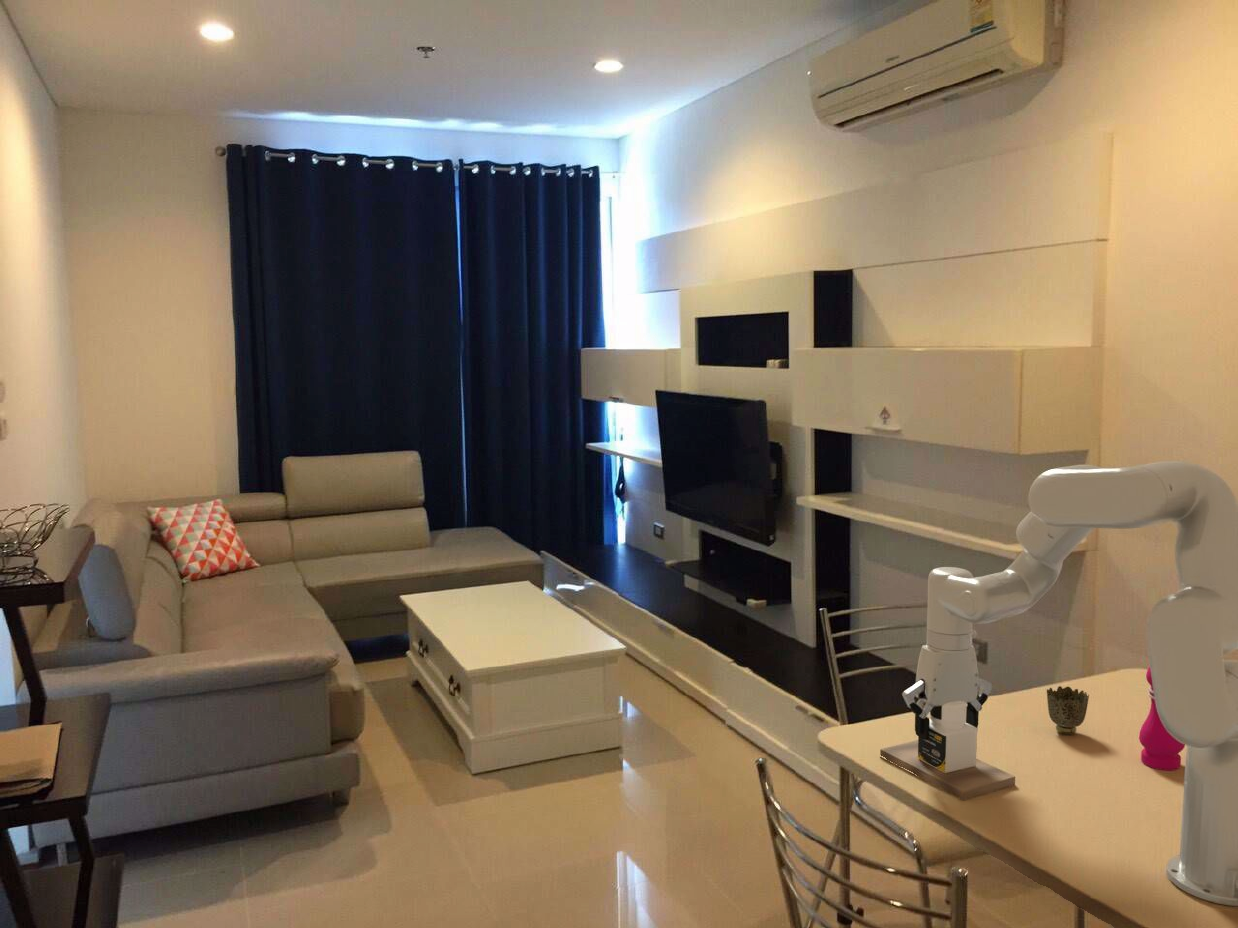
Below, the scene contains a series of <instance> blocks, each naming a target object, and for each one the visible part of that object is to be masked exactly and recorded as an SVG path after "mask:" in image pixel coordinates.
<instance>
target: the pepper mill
mask: <svg viewBox="0 0 1238 928" xmlns="http://www.w3.org/2000/svg"><path fill="white" fill-rule="evenodd" d="M1145 677H1146V681H1147V683H1148V684H1149V685H1150V686H1149V688H1148V693H1147V694H1148V697H1149V698H1150V709H1149V713H1148V714H1147V717H1146V718H1145V720H1144V721H1143V724H1142V725H1141V727H1140V730H1139V736H1138V740H1139V742H1140V744H1141V745H1142V747H1143V749H1142V750H1141V753H1140V755H1141V756H1140V760H1141V761H1140V762H1142V764H1144V765H1146V766H1147V767H1150V768H1153V769H1157V770H1162V771H1174V770H1175V771H1176V770H1178V769H1179V768H1181V764H1182V763H1181V762H1182V756H1181V755H1180V754H1179V753H1181V752H1182V751H1183V750H1184V748H1185V746H1186V745H1185V744H1182V743H1180V742H1179V741H1177V740H1176V739H1175V738H1174V737H1172V736H1171V735H1170V734H1169V733H1168V731H1167V730H1166V729H1165V727H1164V726H1163V724H1162V722H1161V720H1160V718H1159V715H1158V712H1157V708H1156V704H1155V698H1154V691H1153V684H1152V677H1151V669H1150V666H1149V667H1148V668H1147V671H1146V674H1145Z"/></svg>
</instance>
